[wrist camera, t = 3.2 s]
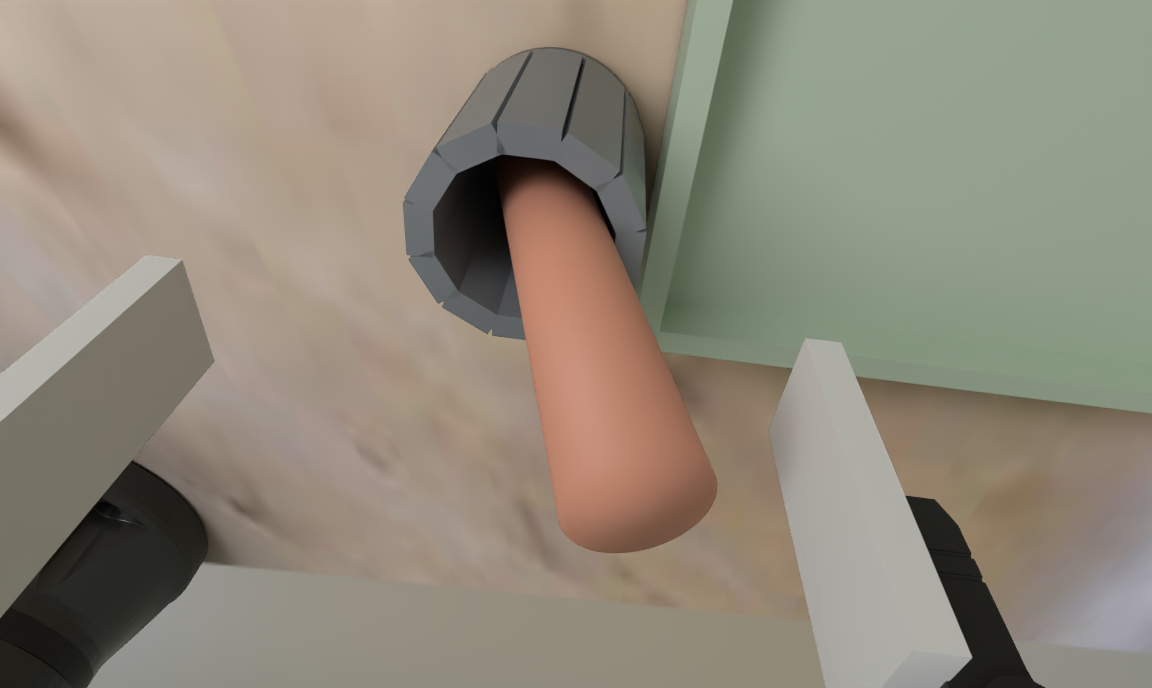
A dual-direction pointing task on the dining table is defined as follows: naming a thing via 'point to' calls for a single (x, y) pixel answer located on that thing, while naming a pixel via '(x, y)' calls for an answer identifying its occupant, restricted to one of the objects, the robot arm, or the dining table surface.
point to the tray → (912, 192)
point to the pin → (598, 371)
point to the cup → (536, 130)
